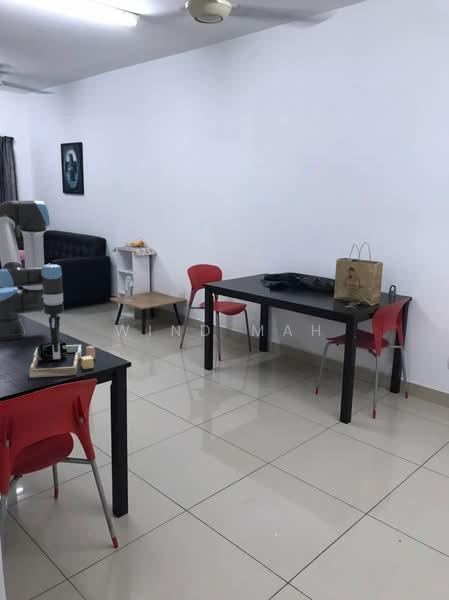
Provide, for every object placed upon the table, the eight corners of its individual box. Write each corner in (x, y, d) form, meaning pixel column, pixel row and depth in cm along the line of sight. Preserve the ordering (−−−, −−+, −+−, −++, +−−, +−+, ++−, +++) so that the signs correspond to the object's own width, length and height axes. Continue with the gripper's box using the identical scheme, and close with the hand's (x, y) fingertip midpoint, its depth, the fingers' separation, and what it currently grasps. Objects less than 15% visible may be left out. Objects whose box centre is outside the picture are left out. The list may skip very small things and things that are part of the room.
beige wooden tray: (35, 361, 197) (35, 354, 196) (78, 359, 201) (78, 352, 201) (29, 377, 181) (28, 370, 180) (76, 374, 185) (75, 367, 184)
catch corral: (37, 353, 207) (36, 346, 206) (81, 350, 211) (81, 344, 211) (33, 361, 197) (33, 355, 196) (80, 359, 201) (80, 352, 201)
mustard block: (81, 366, 194) (81, 356, 193) (91, 364, 196) (90, 355, 195) (83, 369, 191) (83, 360, 190) (93, 367, 192) (93, 358, 192)
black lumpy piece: (60, 354, 207) (57, 339, 206) (68, 355, 202) (66, 340, 202) (38, 360, 200) (36, 344, 199) (46, 361, 195) (44, 345, 194)
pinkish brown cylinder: (86, 357, 204) (86, 345, 203) (95, 356, 205) (94, 345, 204) (86, 359, 201) (85, 348, 200) (95, 359, 202) (94, 348, 200)
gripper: (45, 299, 197) (49, 353, 202) (41, 307, 184) (45, 364, 190) (64, 299, 198) (67, 352, 204) (61, 306, 186) (65, 363, 191)
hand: (56, 358), depth 197 cm, fingers closed
